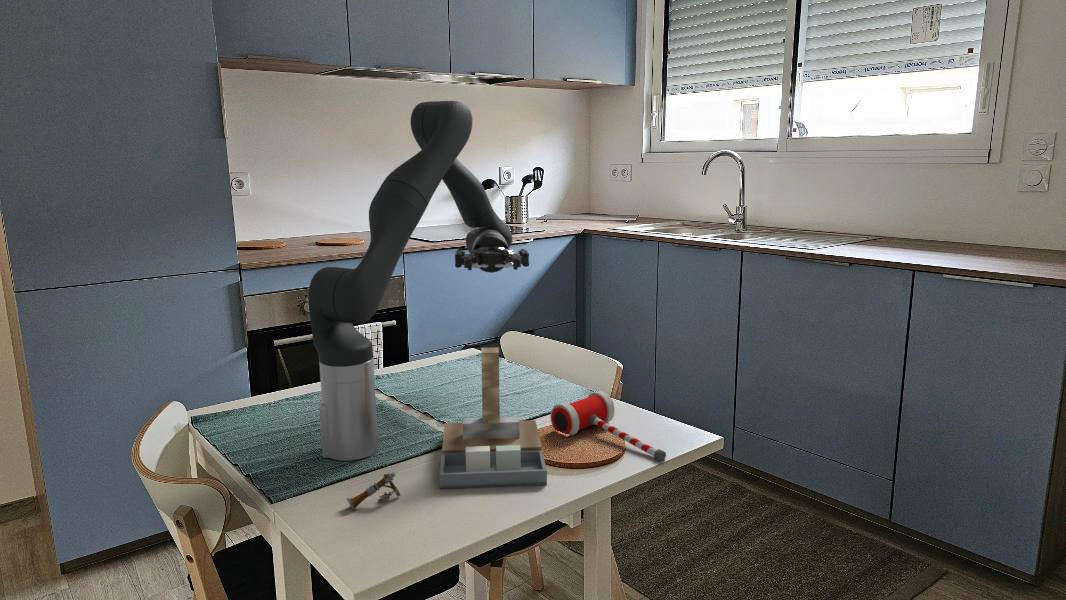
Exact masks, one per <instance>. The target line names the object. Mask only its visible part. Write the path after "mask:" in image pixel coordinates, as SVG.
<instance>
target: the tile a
mask: <svg viewBox="0 0 1066 600" xmlns="http://www.w3.org/2000/svg"><path fill="white" fill-rule="evenodd" d="M481 471H490V446H474V447H466V472H481Z"/></svg>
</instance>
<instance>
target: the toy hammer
mask: <svg viewBox="0 0 1066 600" xmlns="http://www.w3.org/2000/svg"><path fill="white" fill-rule="evenodd" d="M614 417H615V404H614V401H613V400H612V398H611V396H610V395H609V394H608V393H606V392H604V391H602V390H599V391H598V390H597V391H595V392H592V393H590V394H589V395H588V396H586V397H585V398H582V399H579V400H575V401H573V402H571V403H568V402H561V403H558V404H555V405H554V406H553V407H552V409H551V410H550V422H551V426H552V429H553V430H554V429H555V430H557V431H560V432H562V433H565V434H569V435H573V434H575V435H576V434H577V433H578V431H580V430H583V429H587V428H589V427H591V426H595V425H596V426H597V427H599V428H601V429H603V430H604V431H606V432H608V433H609V434H612V435H613V436H615V437H617V438H619V439H621V440H623V441H624V442H626V443H628V444H630V445H632V446H634V447H636V448H637V449H639V450H641V451H643V452H645V453H647V454H648V455H651V456H653V459H654V460H656V461H657V462H663V461H664V460H665V459H666V458H667V452H665V451H664V450H662V449H660V448H658V449H656V448H654V447H652V446H651V445H649V444H647V443H645V442H644V441H641V440H640V439H638V438H636V437H634V436H633V435H630V434H628V433H626V432H625V431H624V430H621V429H619V428H618V427H616V426H613V425H612V424H610V423H609V422H611V421H612V420H613V418H614ZM555 430H554V431H555ZM573 436H574V435H573Z"/></svg>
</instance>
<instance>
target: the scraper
mask: <svg viewBox="0 0 1066 600" xmlns="http://www.w3.org/2000/svg"><path fill="white" fill-rule="evenodd" d="M480 349H481V352H480V354H481V359H480V360H481V399H482V400H481V403H482V404H481V410H482V411H481V413H482V416H481V417H467V418H464V417H463V418H462V423H463V440H469V439H500V438H520V422H519V421H520V417H519V416H505V417H504V416H502V417H500V414H501V411H500V349H499V347H495V346H494V347H481V348H480Z"/></svg>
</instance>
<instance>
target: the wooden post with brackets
mask: <svg viewBox="0 0 1066 600" xmlns="http://www.w3.org/2000/svg"><path fill="white" fill-rule="evenodd" d="M394 477H396V473H395V472H388V473H384V474H383V477H382V478H381V479H380V480H379V481H377V482H373V484H371V485H370V486H368V488H365V491H363V492H361V493H360V494H357V495H356V496H354V497H351V498H349V497H347V498H345V500H346V501H347V503H348V504H349V506H350V507H351V508H350V509H352V511H353V512H356V511H357V509H356V508H357V507H358V506H359V505H360V504H361V503H363V501H365V500H366V499H367V498H369V497H372V496H373V495H374V494H375V493H377V491H380V490H381V488H382V487H385V488H388V489H389V488H390V489H391V491H388V492H386V491H384V494H382V495H380V496H378V497H379V498H378V499H377V503H379V504H380V503H381V504H382V503H383V504H384V503H386V502H387V501H388V500H389V501H390V500H391V498H390V497H392V496H393V493H394V494H395V495H396V496H397V497H400V496H401V493H400V491H399V489H398V488H397V486H395V484H394V482H393V480H395V479H394ZM388 484H389V485H388Z"/></svg>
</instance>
